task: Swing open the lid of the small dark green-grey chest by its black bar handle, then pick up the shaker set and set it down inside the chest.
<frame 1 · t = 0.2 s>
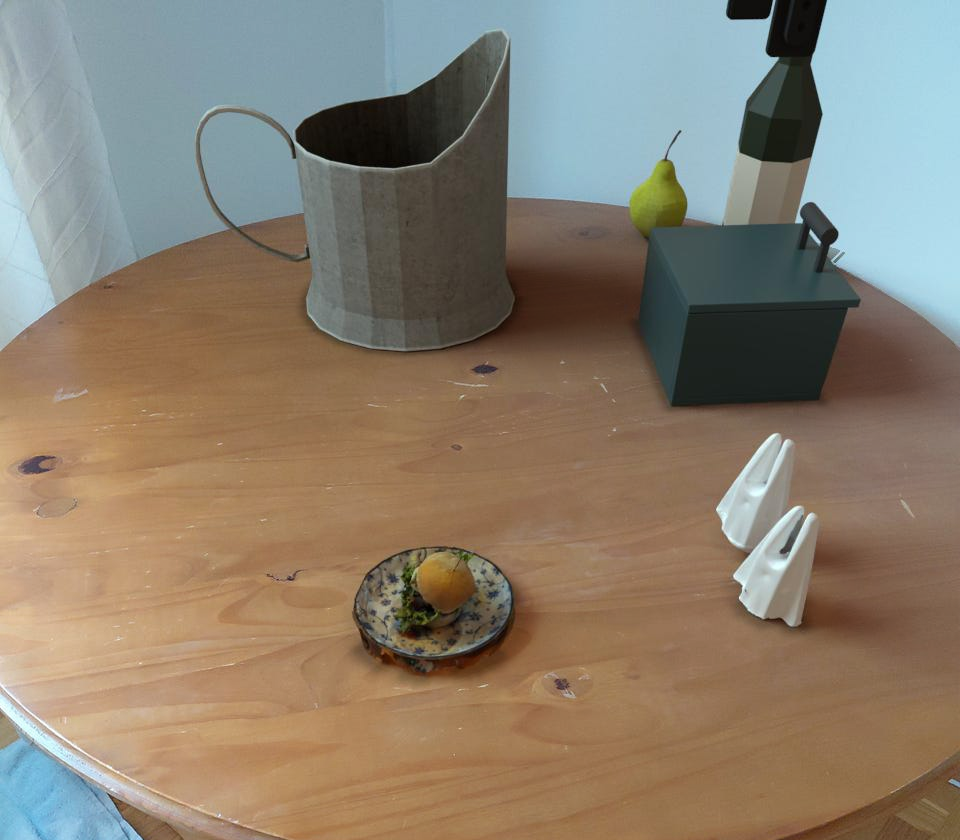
hand: (766, 36, 62), 30 cm above the table, tool pointing down, fingers open, 9 cm apart
wine bottle: (748, 264, 107), on the table
lid: (753, 243, 83), point 12 cm above the table, hinge at 0.0°
pitcher: (373, 303, 100), on the table
shaker set: (753, 574, 69), on the table
chest: (723, 359, 91), on the table
burger: (435, 617, 66), on the table
fruit: (653, 238, 112), on the table
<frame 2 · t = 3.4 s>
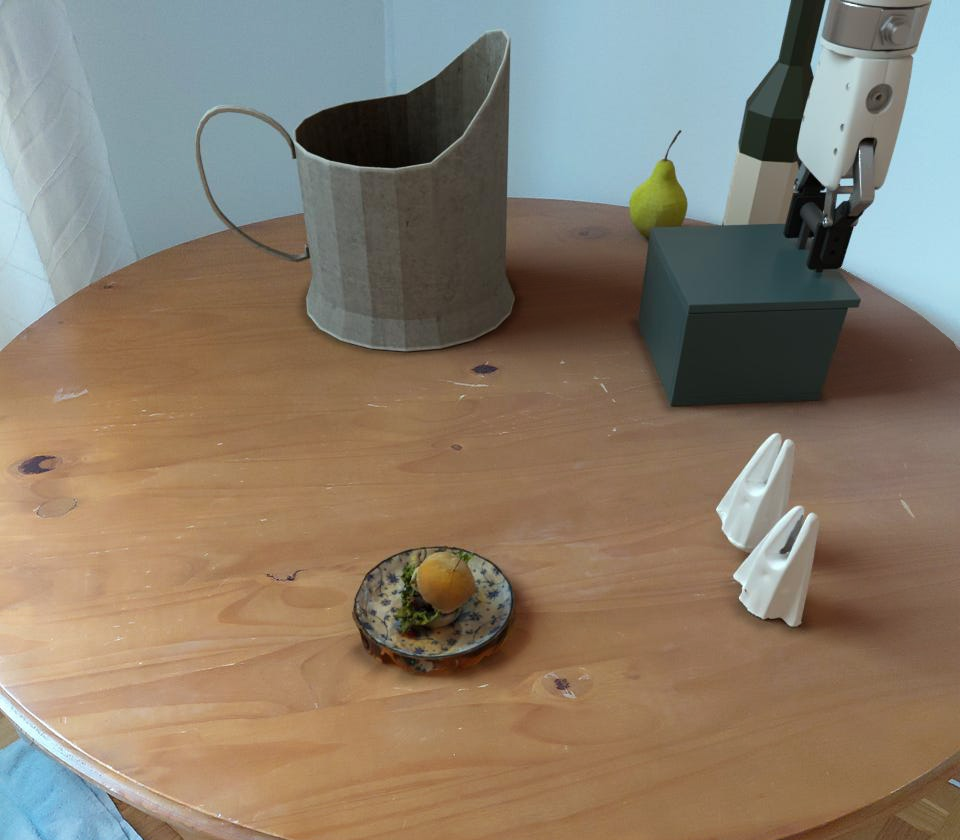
hand: (811, 250, 84), 11 cm above the table, tool pointing down, fingers closed on lid, 6 cm apart
lid: (753, 243, 83), point 12 cm above the table, hinge at 0.0°, touching gripper
everything else where it was.
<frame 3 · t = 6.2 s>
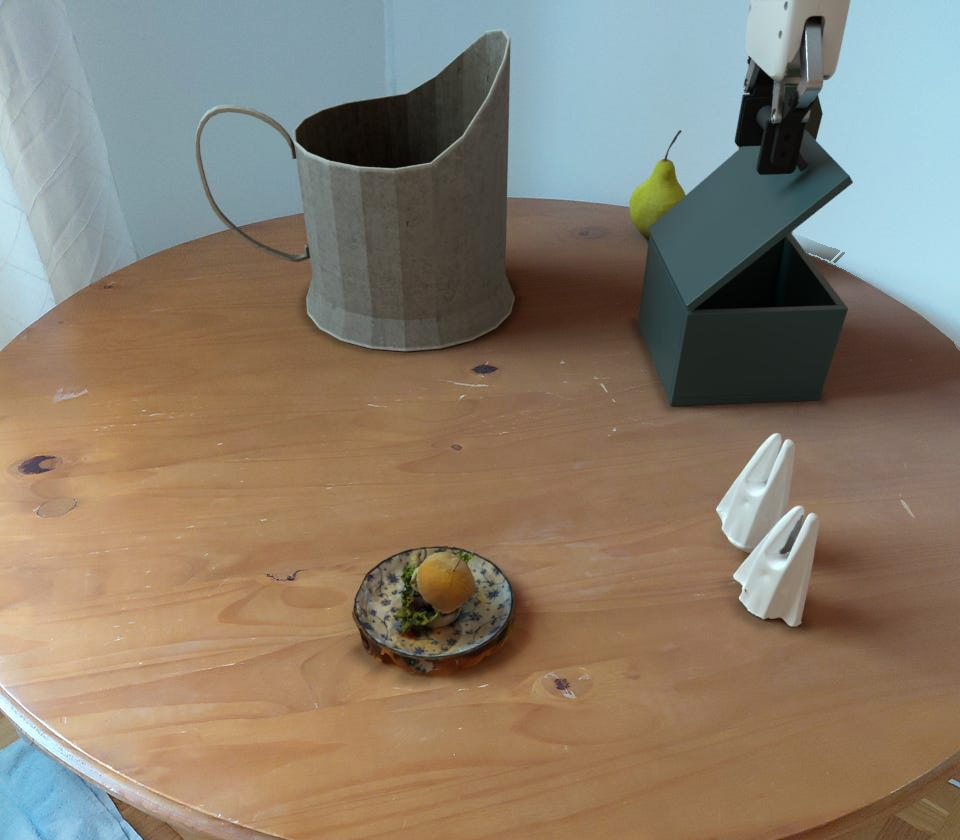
hand: (763, 156, 77), 19 cm above the table, tool pointing down, fingers closed on lid, 6 cm apart
lid: (727, 190, 79), point 17 cm above the table, hinge at 42.8°, touching gripper
everything else where it was.
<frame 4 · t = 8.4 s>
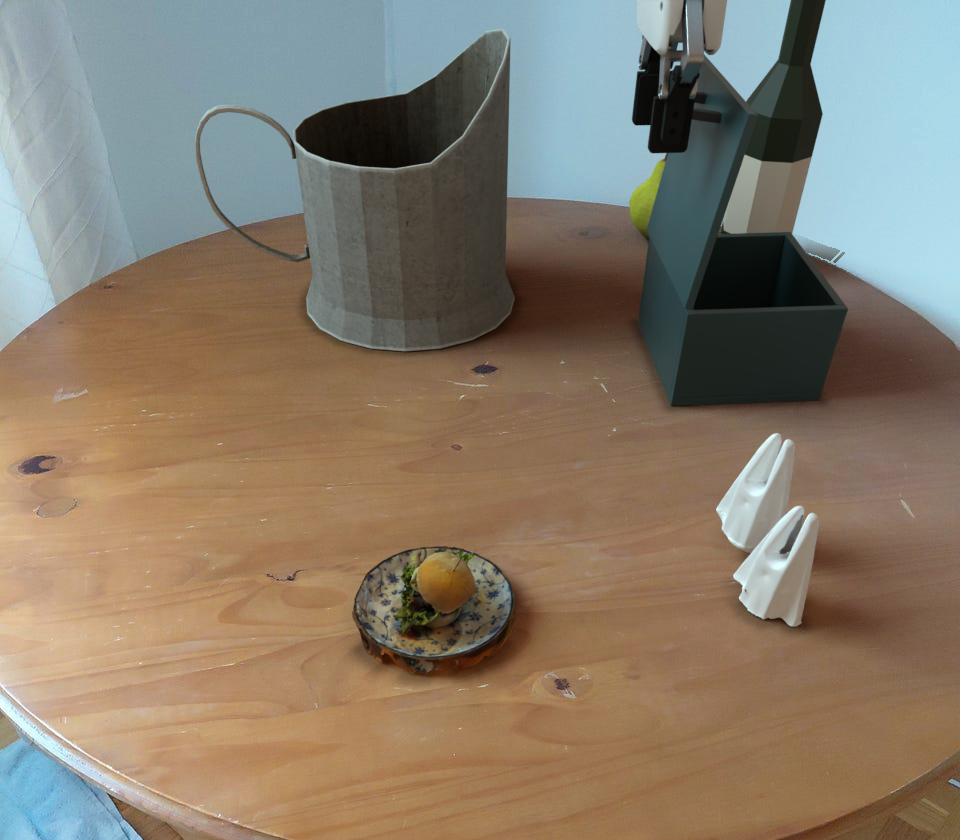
hand: (658, 135, 75), 21 cm above the table, tool pointing down, fingers closed on lid, 6 cm apart
lid: (672, 178, 78), point 18 cm above the table, hinge at 81.6°, touching gripper
everything else where it was.
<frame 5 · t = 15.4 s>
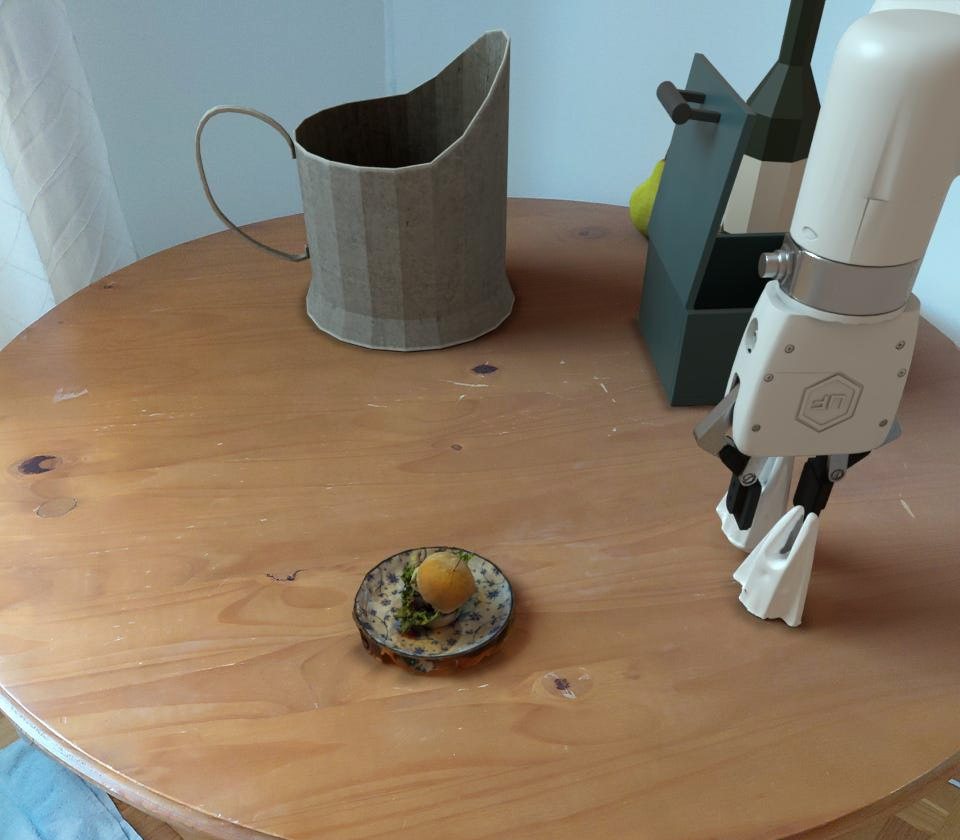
hand: (771, 514, 65), 6 cm above the table, tool pointing down, fingers closed on shaker set, 4 cm apart
lid: (671, 178, 78), point 18 cm above the table, hinge at 81.9°
shaker set: (753, 574, 69), on the table, touching gripper
everything else where it was.
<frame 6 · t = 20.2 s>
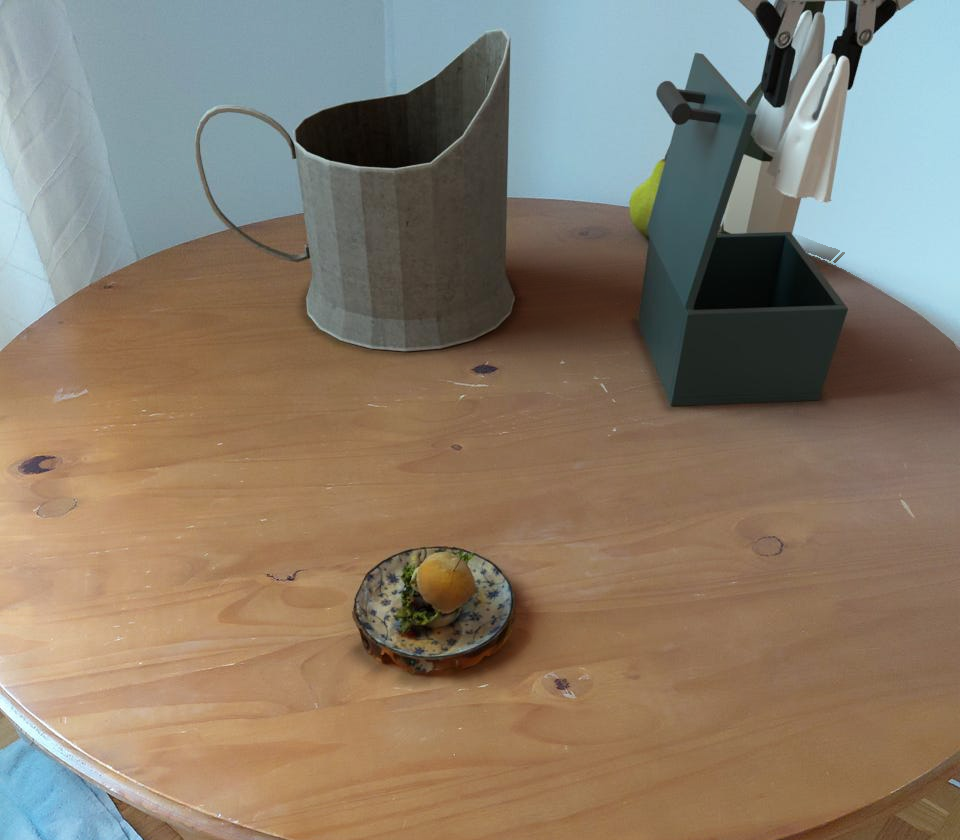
hand: (803, 98, 70), 25 cm above the table, tool pointing down, fingers closed on shaker set, 4 cm apart
shaker set: (784, 178, 74), point 19 cm above the table, touching gripper
everything else where it was.
when the fingers open (7 cm above the table, at t = 25.0 s): shaker set stays where it is, resting on chest.
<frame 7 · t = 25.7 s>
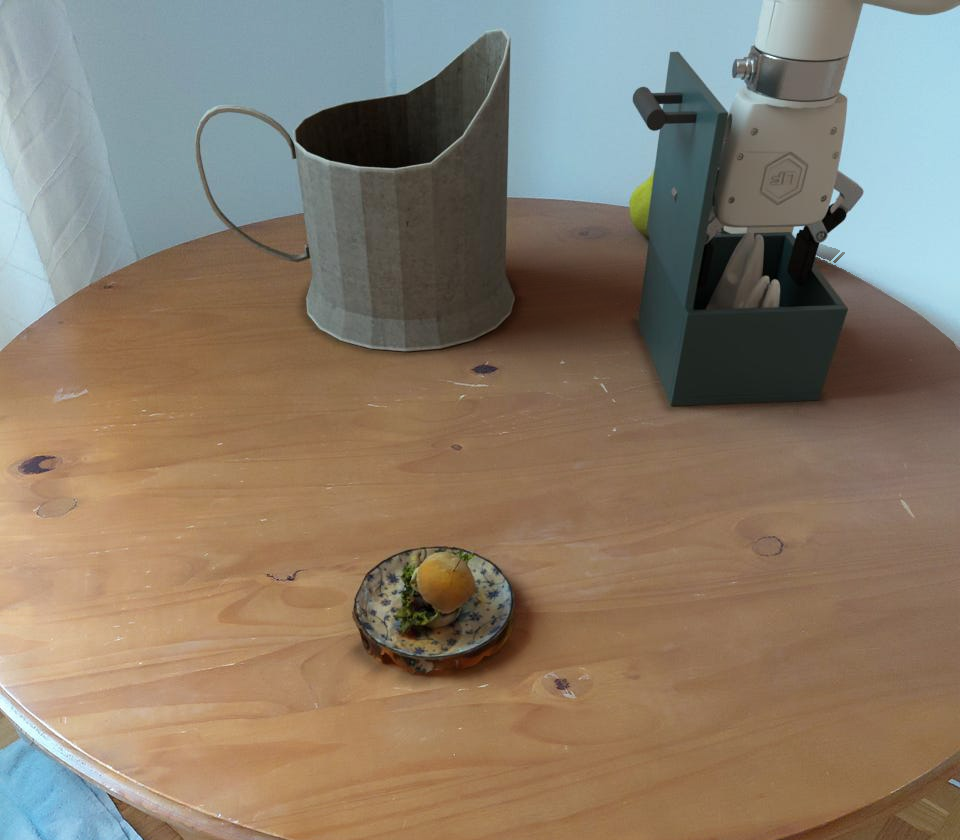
hand: (746, 279, 85), 8 cm above the table, tool pointing down, fingers open, 9 cm apart
lid: (658, 181, 78), point 17 cm above the table, hinge at 90.3°
shaker set: (734, 353, 91), point 1 cm above the table, touching chest
everything else where it was.
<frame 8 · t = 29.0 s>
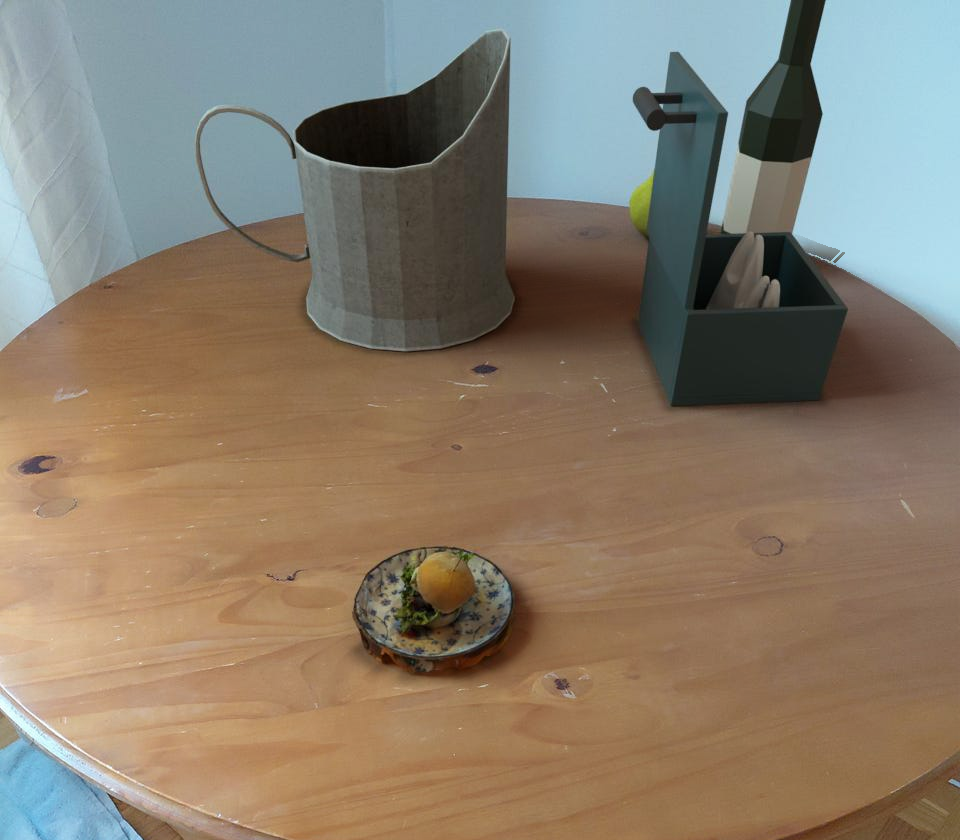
nothing on the table moved.
at the end: lid at +90° (first picture: +0°); shaker set inside the target area in the chest (1.1 cm from its centre), point 0.6 cm above the chest's base; shaker set tilted 0° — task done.
